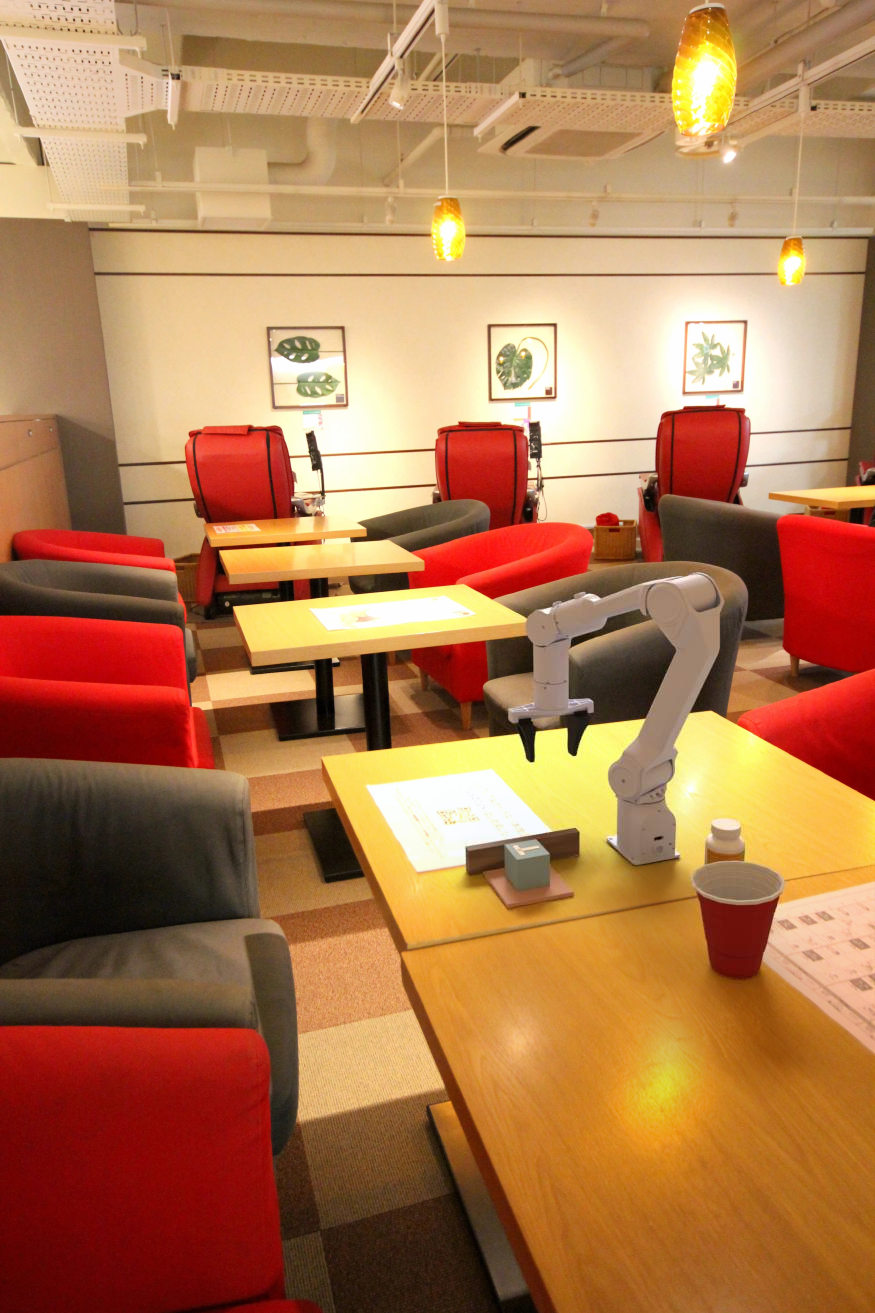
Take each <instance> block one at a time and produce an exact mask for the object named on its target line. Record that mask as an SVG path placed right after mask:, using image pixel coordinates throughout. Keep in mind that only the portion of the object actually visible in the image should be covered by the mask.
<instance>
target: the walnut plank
mask: <svg viewBox="0 0 875 1313" xmlns="http://www.w3.org/2000/svg"><path fill="white" fill-rule="evenodd" d="M580 837H581V835H580V831H579V829H577V827H571V828H567V829H560V830H554V831H548V832H541V833H537V834H530V835H524V836H519V837H513V838H507V839H502V840H494V841H489V842H484V843H479V844H472V845H466V846H465V870H466V873H467V874H468V875H469V876H472V875H478V874H484V871H490V870H495V869H501V868H505V853H504V845H506V844H511V843H517V842H523V841H529V840H535V839H536V840H537V841H538V842H539V843H540V844H541V845H542V846H543V847H544V848H545V849H546V850H547V852H548V853H549V854H550V862H551V861H556V860H561V859H567V858H573V857H578V856H579V857H580V855H581V854H580V853H581V852H580V849H581V848H580V847H581V846H580V841H581V840H580V839H581V838H580Z"/></svg>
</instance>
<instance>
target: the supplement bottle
mask: <svg viewBox="0 0 875 1313" xmlns="http://www.w3.org/2000/svg"><path fill="white" fill-rule="evenodd" d="M710 826H711V827H710V832H711V833H709V834H708V835H707V836H706V838H705V841H704V842H705V844H704V845H705V846H704V847H705V848H704V864H703V865H706V864H710V863H715V862H719V861H744V862H745V857H746V855H745V854H746V842H745V840H744V838H743V837H742V836H741V832H742V825H741V823H740V822H738V821H737V820H735V819H731V818H726V817H725V818H724V817H723V818H716V819H715V818H714V820H712V821H711V825H710Z"/></svg>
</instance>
